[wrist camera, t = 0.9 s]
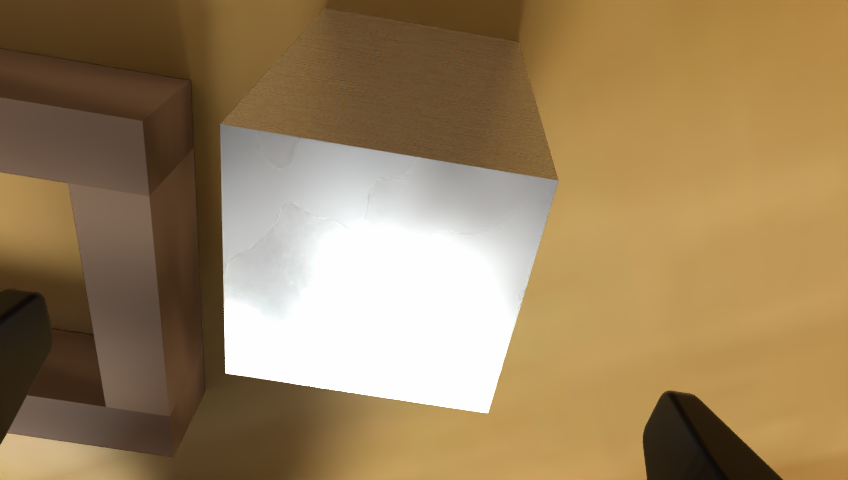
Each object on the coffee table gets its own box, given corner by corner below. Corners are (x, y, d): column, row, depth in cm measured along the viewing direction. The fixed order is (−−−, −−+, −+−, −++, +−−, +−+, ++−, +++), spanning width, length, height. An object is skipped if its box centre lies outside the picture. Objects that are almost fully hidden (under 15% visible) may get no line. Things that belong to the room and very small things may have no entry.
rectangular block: (479, 208, 19) (488, 412, 12) (313, 181, 18) (225, 373, 12) (518, 41, 16) (558, 180, 9) (325, 7, 16) (219, 123, 9)
